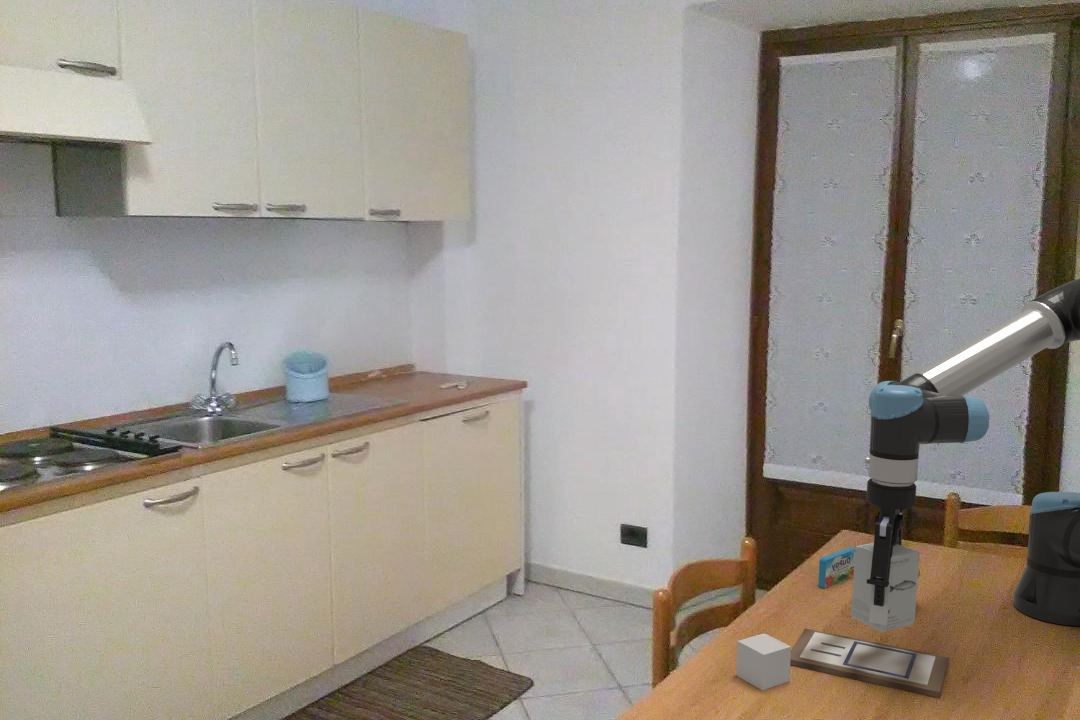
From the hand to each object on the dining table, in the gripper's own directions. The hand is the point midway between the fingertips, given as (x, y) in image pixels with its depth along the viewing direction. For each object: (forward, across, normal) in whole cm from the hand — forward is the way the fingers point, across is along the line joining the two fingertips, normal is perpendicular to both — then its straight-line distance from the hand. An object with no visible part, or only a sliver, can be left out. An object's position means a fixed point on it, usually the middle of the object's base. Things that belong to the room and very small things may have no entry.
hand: (883, 611), depth 160 cm
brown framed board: (+10, 0, -2) cm, 10 cm away
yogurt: (+10, -37, -14) cm, 41 cm away
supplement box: (+2, 0, 0) cm, 2 cm away
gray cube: (+10, +14, -16) cm, 23 cm away
